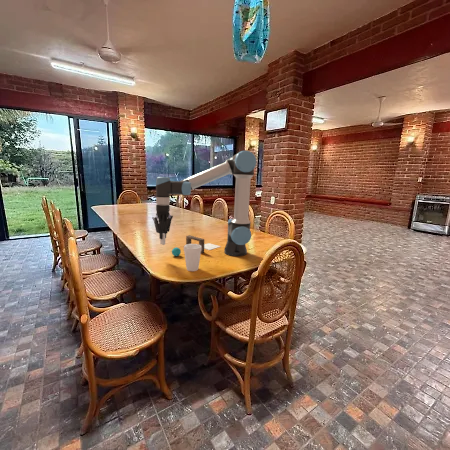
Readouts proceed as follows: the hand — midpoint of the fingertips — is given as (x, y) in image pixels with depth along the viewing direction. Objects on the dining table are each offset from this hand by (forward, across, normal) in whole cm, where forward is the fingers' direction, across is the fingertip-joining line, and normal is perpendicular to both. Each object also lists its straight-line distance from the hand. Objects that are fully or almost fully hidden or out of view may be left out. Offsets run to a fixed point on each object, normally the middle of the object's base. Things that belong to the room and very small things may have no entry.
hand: (162, 244), depth 144 cm
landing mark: (+9, -40, 0) cm, 41 cm away
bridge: (+9, -26, 0) cm, 28 cm away
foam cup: (+10, -2, +23) cm, 25 cm away
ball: (+7, -10, 0) cm, 12 cm away
